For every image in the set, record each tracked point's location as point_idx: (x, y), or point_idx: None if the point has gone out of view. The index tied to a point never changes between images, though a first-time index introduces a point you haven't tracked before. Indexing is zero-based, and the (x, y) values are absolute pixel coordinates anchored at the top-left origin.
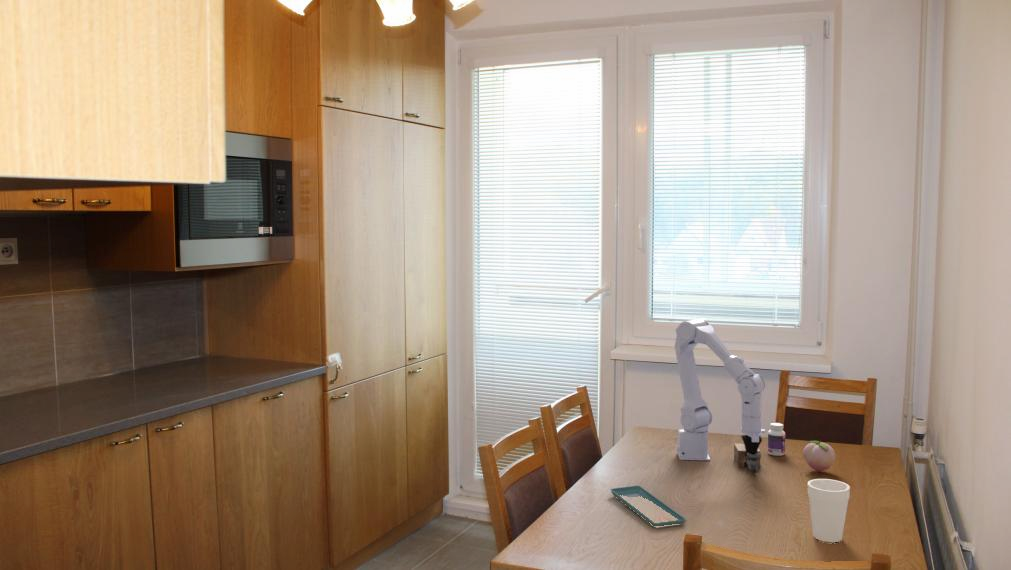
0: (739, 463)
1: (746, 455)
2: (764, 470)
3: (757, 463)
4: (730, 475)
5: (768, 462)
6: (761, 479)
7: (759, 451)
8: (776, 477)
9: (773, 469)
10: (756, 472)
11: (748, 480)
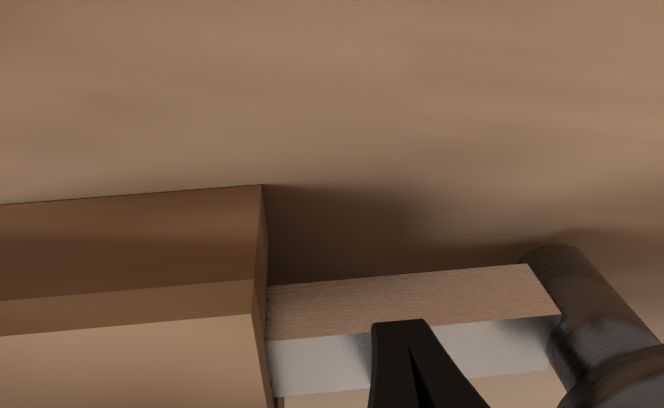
0: None
1: None
2: (371, 151)
3: (641, 321)
4: (519, 396)
5: (13, 71)
6: (657, 204)
7: (251, 321)
8: (626, 51)
9: (319, 45)
10: (590, 262)
11: (659, 298)
